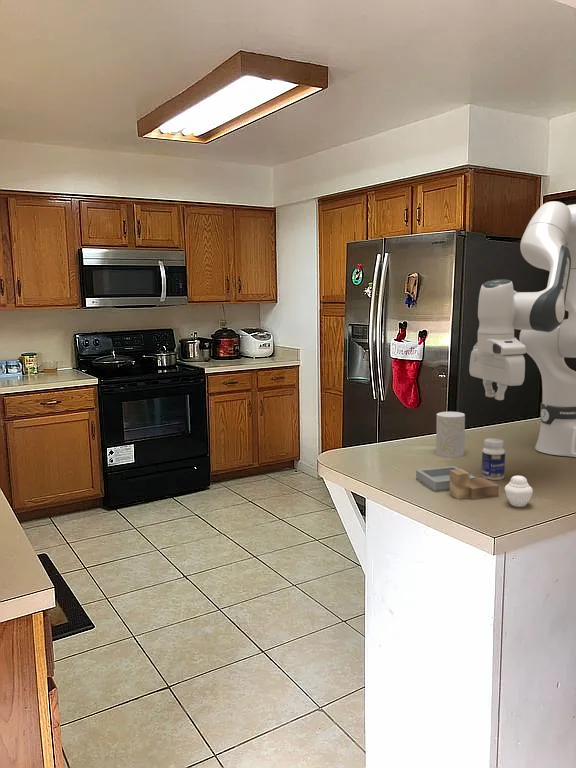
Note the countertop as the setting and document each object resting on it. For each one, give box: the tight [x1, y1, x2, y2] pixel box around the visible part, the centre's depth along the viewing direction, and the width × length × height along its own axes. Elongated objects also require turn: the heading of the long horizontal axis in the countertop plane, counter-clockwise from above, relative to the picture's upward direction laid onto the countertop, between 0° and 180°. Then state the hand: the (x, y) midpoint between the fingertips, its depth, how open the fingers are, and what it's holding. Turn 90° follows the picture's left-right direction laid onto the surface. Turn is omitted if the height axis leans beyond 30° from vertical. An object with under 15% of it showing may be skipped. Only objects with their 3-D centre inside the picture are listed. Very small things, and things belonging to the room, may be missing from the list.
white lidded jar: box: [504, 474, 534, 508], centre depth 148 cm, size 6×6×7 cm
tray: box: [415, 465, 477, 493], centre depth 165 cm, size 11×11×2 cm
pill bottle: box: [481, 437, 506, 481], centre depth 168 cm, size 6×6×10 cm
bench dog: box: [449, 468, 471, 500], centre depth 155 cm, size 3×4×6 cm
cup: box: [435, 411, 466, 458], centre depth 192 cm, size 8×8×12 cm
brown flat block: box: [468, 477, 500, 501], centre depth 156 cm, size 7×7×3 cm
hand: (494, 398), depth 166 cm, fingers open, 3 cm apart
